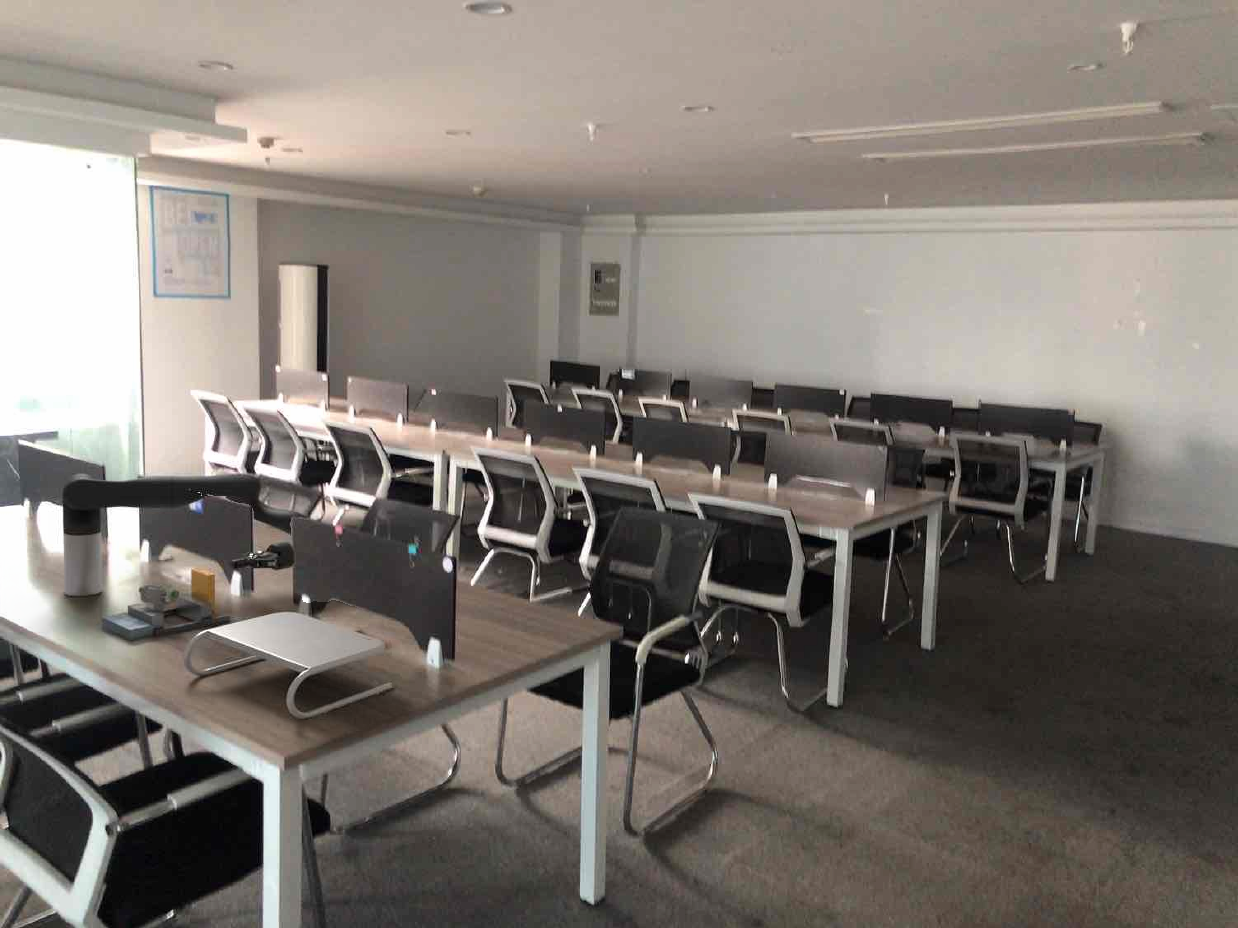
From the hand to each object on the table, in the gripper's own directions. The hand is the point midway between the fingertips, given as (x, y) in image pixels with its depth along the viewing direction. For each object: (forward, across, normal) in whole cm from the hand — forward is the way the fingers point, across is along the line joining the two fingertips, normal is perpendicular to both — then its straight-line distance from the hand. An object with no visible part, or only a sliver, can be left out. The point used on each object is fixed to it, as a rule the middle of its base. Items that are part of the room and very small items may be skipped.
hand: (232, 564), depth 268 cm
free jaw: (+10, 0, -13) cm, 16 cm away
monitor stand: (+21, -56, -14) cm, 61 cm away
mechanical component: (+20, 0, -13) cm, 24 cm away
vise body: (+18, 0, -13) cm, 22 cm away
